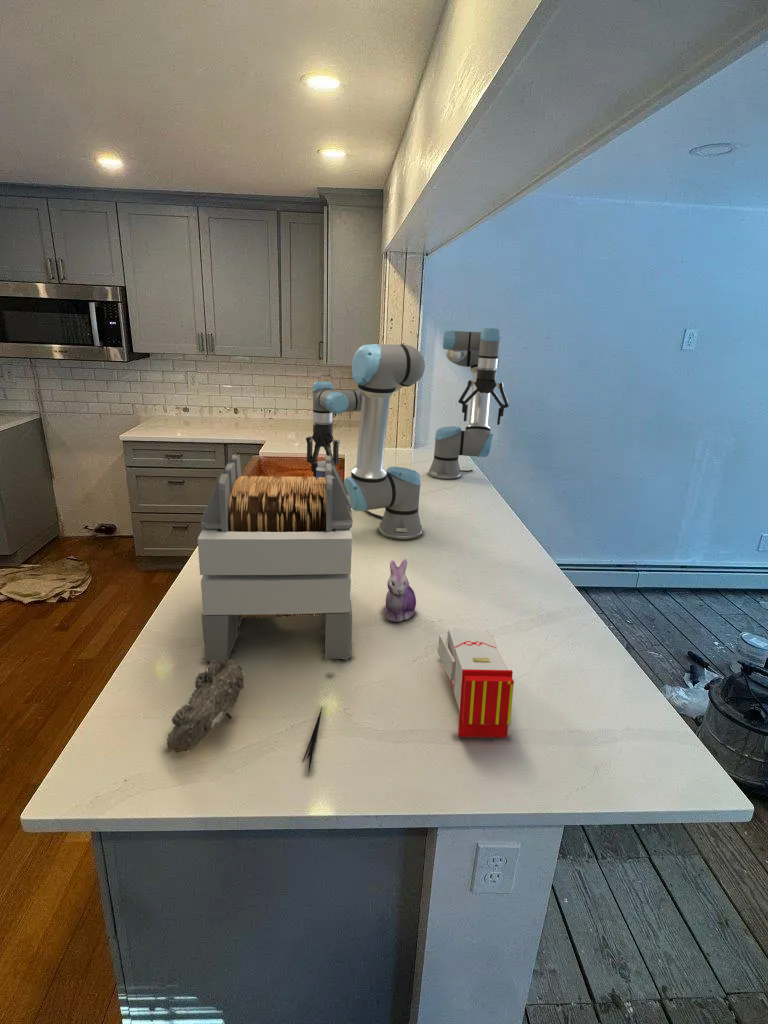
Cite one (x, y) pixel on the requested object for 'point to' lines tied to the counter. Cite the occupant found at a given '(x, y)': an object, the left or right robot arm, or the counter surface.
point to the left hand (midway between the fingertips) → (322, 480)
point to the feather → (313, 740)
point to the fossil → (206, 705)
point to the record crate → (276, 555)
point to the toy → (478, 682)
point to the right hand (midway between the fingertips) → (481, 422)
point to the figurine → (399, 594)
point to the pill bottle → (320, 469)
